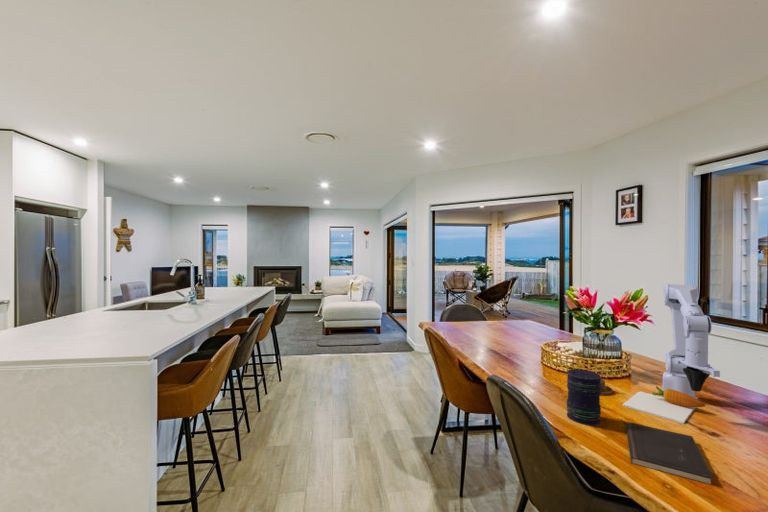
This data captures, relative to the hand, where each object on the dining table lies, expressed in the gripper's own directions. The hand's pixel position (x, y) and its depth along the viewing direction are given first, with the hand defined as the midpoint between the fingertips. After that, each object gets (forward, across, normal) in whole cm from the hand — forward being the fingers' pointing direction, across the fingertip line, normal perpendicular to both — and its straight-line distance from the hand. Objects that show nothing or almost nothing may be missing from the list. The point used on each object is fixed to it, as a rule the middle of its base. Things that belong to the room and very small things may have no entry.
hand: (695, 390), depth 118 cm
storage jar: (+9, -2, +40) cm, 41 cm away
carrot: (+6, +2, -6) cm, 9 cm away
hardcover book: (+10, -22, +29) cm, 37 cm away
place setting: (+10, +22, +24) cm, 34 cm away
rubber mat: (+9, +8, +6) cm, 13 cm away
